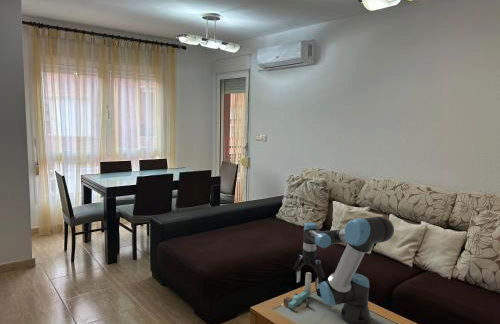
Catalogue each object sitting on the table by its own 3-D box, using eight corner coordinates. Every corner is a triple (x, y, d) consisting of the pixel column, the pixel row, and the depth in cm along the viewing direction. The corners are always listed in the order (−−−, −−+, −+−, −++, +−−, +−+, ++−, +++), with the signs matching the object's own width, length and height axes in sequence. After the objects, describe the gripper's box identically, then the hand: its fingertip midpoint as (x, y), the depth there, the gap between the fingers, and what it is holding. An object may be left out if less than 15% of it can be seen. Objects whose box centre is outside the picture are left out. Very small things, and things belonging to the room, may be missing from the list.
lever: (312, 294, 211) (313, 273, 210) (294, 309, 194) (295, 286, 193) (305, 292, 214) (306, 271, 213) (286, 306, 197) (287, 283, 196)
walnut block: (292, 305, 201) (292, 298, 200) (288, 307, 198) (289, 300, 198) (286, 303, 203) (286, 296, 203) (283, 305, 200) (283, 298, 200)
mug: (335, 298, 212) (336, 283, 211) (315, 297, 213) (316, 282, 212) (333, 292, 220) (334, 277, 219) (314, 290, 221) (314, 276, 220)
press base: (312, 307, 201) (312, 298, 201) (302, 315, 193) (302, 306, 192) (290, 299, 210) (290, 290, 209) (280, 306, 201) (280, 298, 200)
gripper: (332, 252, 204) (330, 288, 206) (294, 243, 218) (293, 276, 221) (326, 256, 198) (324, 293, 200) (288, 246, 213) (286, 281, 215)
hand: (308, 285), depth 211 cm, fingers open, 12 cm apart
